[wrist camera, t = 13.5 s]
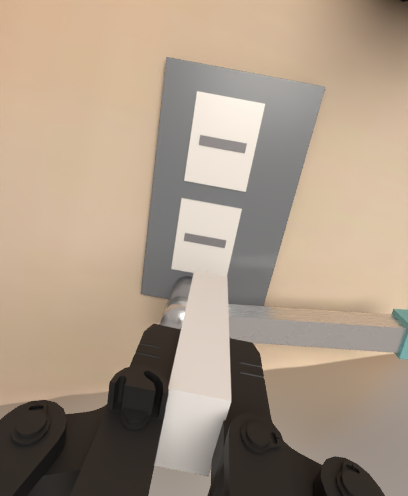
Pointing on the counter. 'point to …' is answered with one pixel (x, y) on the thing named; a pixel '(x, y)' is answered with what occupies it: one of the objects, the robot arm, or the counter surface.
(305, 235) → the counter surface
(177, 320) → the swing arm
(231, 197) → the label board
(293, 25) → the counter surface
